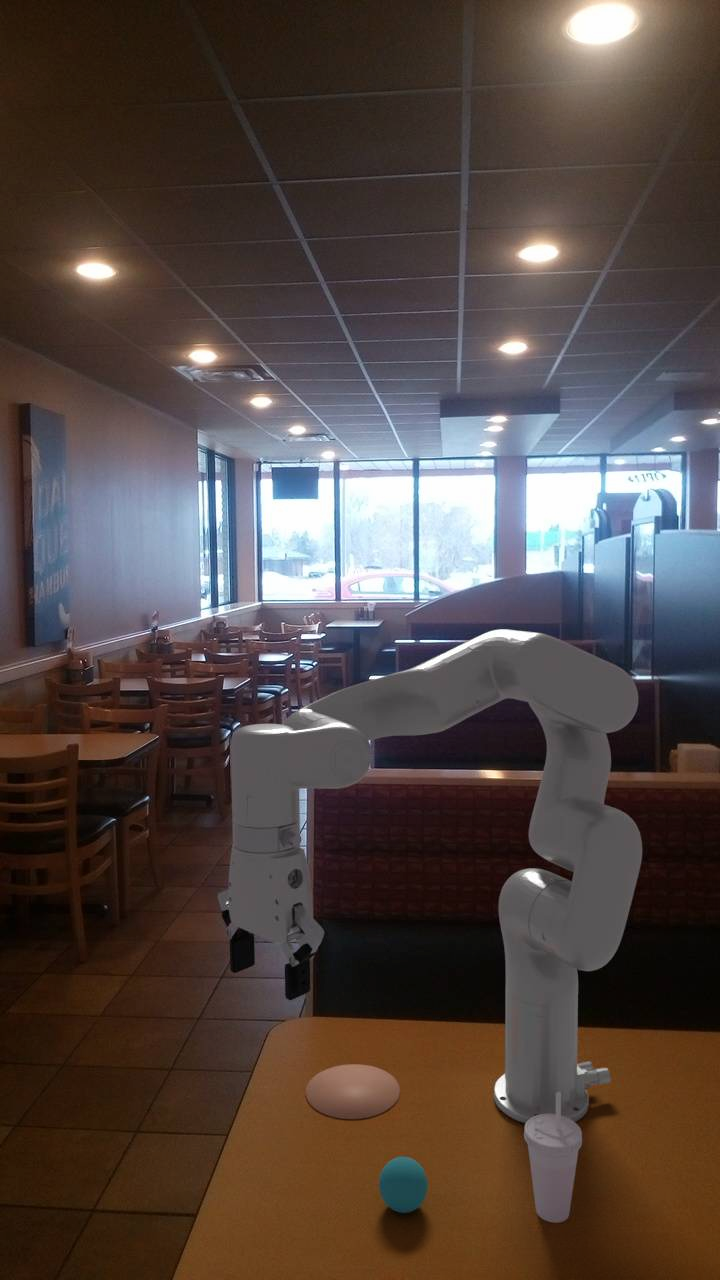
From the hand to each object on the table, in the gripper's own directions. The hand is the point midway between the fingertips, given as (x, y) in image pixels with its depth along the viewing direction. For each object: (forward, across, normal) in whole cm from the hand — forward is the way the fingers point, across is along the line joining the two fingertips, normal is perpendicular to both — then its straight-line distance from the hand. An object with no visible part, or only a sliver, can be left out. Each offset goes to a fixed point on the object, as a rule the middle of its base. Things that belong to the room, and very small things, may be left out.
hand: (269, 981), depth 107 cm
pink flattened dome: (+26, +8, -21) cm, 34 cm away
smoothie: (+26, -25, -20) cm, 41 cm away
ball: (+23, -12, -9) cm, 27 cm away
